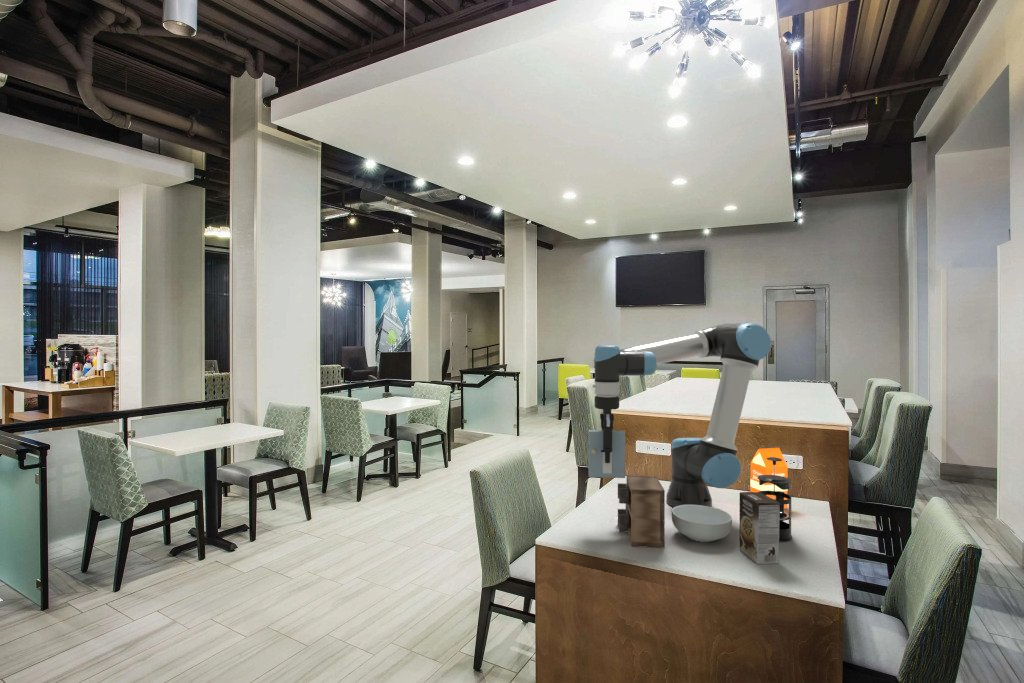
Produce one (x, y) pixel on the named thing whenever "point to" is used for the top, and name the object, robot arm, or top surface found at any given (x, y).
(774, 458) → the french press
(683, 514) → the cereal bowl
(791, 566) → the top surface
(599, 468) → the door
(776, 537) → the coffee box
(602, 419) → the robot arm
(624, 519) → the cabinet
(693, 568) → the top surface
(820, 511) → the top surface
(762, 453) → the orange juice
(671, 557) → the top surface
